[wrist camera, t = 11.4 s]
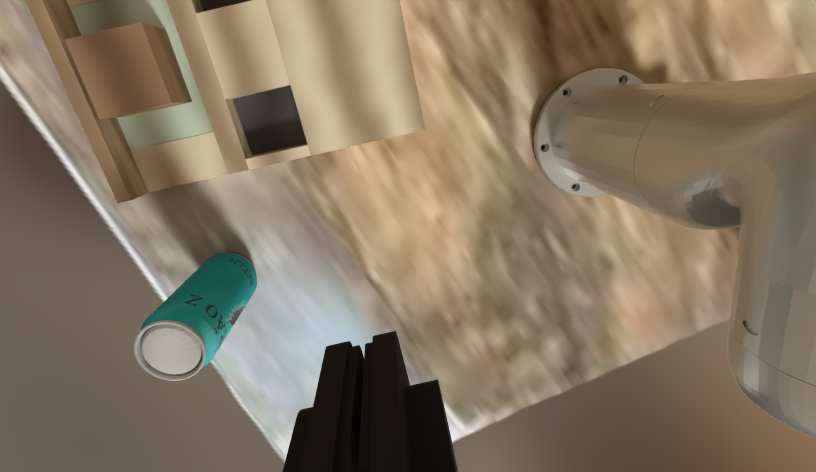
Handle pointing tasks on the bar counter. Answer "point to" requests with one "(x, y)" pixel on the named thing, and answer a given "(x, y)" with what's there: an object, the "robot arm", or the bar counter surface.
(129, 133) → the trap board
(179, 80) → the walnut block
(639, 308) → the bar counter surface
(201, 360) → the beverage can
